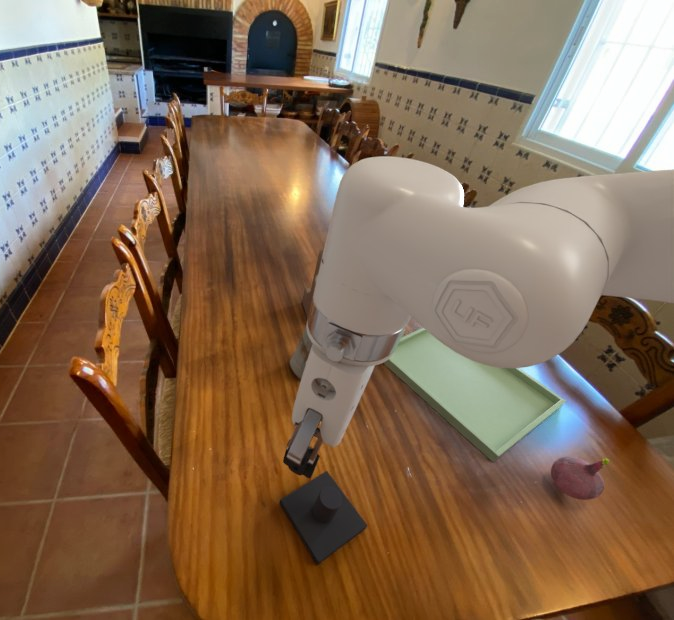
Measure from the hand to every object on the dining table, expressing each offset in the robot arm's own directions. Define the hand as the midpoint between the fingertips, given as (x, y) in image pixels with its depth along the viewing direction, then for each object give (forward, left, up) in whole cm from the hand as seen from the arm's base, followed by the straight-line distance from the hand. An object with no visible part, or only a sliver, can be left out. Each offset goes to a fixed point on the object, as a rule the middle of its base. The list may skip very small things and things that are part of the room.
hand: (315, 433), depth 40 cm
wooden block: (+34, -31, -20) cm, 50 cm away
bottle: (+20, -19, -20) cm, 34 cm away
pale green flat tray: (+3, -46, -20) cm, 50 cm away
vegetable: (-19, -40, -20) cm, 49 cm away
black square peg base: (-3, -3, -20) cm, 20 cm away
